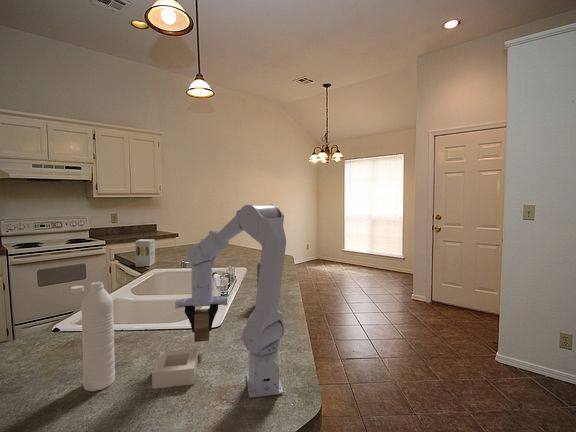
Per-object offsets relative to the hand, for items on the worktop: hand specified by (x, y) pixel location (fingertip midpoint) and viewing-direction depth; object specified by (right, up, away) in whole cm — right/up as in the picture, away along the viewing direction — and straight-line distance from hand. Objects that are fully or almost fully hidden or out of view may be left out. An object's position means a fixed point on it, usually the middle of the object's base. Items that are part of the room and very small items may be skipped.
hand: (202, 330), depth 87 cm
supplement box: (-69, +1, +108) cm, 128 cm away
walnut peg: (0, -2, 0) cm, 2 cm away
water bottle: (-21, -8, -16) cm, 28 cm away
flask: (+17, -4, +45) cm, 49 cm away
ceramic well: (-3, -7, -11) cm, 14 cm away
